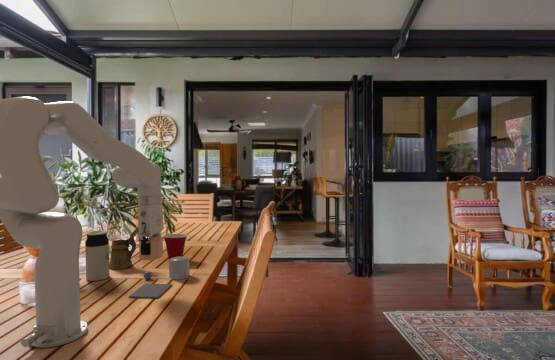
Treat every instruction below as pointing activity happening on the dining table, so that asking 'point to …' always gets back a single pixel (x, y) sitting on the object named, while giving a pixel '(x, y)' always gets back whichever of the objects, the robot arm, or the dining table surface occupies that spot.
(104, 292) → the dining table surface
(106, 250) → the travel mug
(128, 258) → the wooden mug
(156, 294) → the mat
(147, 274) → the marble
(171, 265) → the grey cup
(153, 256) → the terracotta cup
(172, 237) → the plastic cup
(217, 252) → the dining table surface
